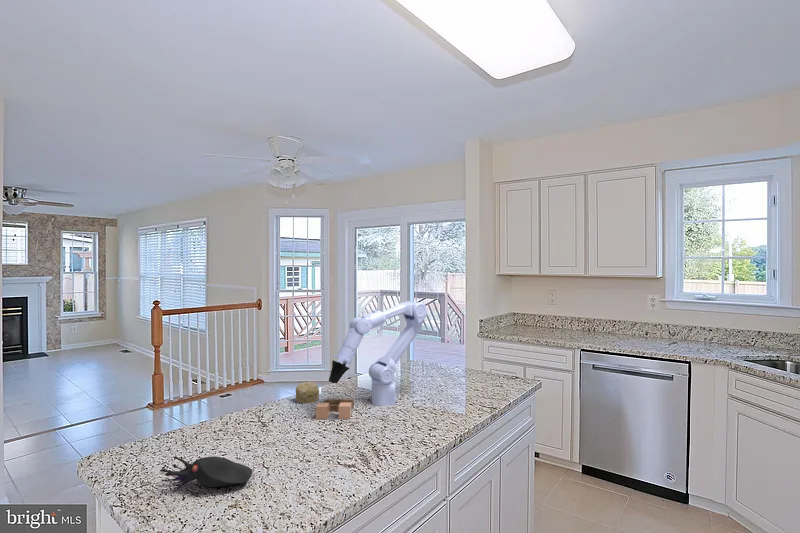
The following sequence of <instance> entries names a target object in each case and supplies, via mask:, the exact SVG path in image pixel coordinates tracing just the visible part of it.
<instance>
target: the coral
mask: <svg viewBox="0 0 800 533" xmlns="http://www.w3.org/2000/svg"><path fill="white" fill-rule="evenodd" d="M319 397H320V389H319V387H318V384H317V383H316V382H313V381H311V380H310V381H305V382H301V383H300V384H298V385H296V387H295V401H296V402H297V403H300V404H310V403H311V404H312V403H315V402H317V401H318V400H319V399H320V398H319Z"/></svg>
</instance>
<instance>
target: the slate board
mask: <svg viewBox="0 0 800 533" xmlns="http://www.w3.org/2000/svg"><path fill="white" fill-rule="evenodd" d="M315 420H316V421H347V420H348V421H350V420H351V418H350V419H339V413H329V417H328V419H316V418H315Z"/></svg>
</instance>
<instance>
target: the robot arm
mask: <svg viewBox="0 0 800 533" xmlns="http://www.w3.org/2000/svg"><path fill="white" fill-rule="evenodd" d="M427 312H428V311H427V306H426V304H425V303H423V302H421V301H420V302H417V301H416V302H415V301H411V300H406V301H402V302H400V303H399V304H397V305H395V306H392V307H391V308H390V307H389V308H388V309H385V310H384V311H381V310H379V309H378V310H377V309H373V310H372V312H370V313H368V314H362V316H361V317H356V316H355V317H354V318H353V319H352V320H350V321H349V325H348V326H349V330H348V332H347V334H346V336H345V339H344V340H343V342H342V344H341V347H340V349H339V350H338V353H337V354H333V357H335V359H337V361H336V360H332V361H331V362H332V363H331V370H330V375H329V376H328V382H329V383H332V384H338V382H339V381H340V380H341V378H342V377H343V375H344V374H345V373H346V372H347V371H349V370H350V367H348V366H347V365H348V364H349V365H352V361H353V358H354V356H355V355H356V353H357V350H358V349H359V346H360V343H361V342H362V339H363V338H364V336H365V334H368V333H369V332H370V330H373V329H375V328H377V327H380V326H382V325H384V324H385V322H386V320H389V319H392V318H395V317H397V316H400V315H403V317H404V318H403V319H404V320H405V322H406V327H404V329H403V330H402V332H401V333H400V335H399V336H398V337H397V338H396V340H395V341H394V343H393V344H392V345H391V347H389V349H388V351H387V352H386V353H385V355H384V356H382V357H380V358H378V359H377V360H376V361H374V363H372V364H371V365H370V366H369V368H368V375H369V377H370V378H371V403H372V405H373V406H376V407H387V406H388V407H390V406H393V407H394V406H396V402H397V395H396V394H397V393H396V392H397V391H396V390H397V389H396V388H397V387H396V381H393V379H394V377H395V376H394V375H395V373H396V371H397V363H398V362H399V360H400V358H402V356H403V354H404V353H405V352H406V351H407V349H408V348H409V347H410V346H411V343H412V342H413V341H414V340H415V338H416V336H417V335H418V334H419V333H420V332H421V330H422V328H423V327H422V326H423V323H424V320H425V318H426V317H427V315H428V313H427Z"/></svg>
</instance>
